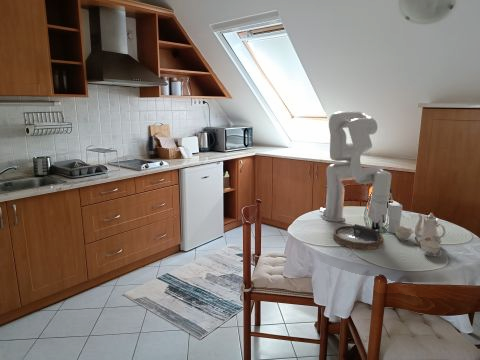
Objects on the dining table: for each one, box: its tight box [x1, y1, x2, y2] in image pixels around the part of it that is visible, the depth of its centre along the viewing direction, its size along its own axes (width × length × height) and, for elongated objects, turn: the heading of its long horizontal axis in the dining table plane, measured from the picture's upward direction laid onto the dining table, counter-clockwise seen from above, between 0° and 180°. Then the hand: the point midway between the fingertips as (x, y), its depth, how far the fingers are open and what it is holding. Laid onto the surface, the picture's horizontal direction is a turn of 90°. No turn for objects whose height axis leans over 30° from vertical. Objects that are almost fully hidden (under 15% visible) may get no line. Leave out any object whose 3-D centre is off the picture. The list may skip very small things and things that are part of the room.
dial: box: [337, 224, 380, 243], centre depth 172 cm, size 20×20×7 cm
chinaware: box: [394, 212, 446, 257], centre depth 165 cm, size 28×17×17 cm, turn 19°
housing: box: [332, 225, 385, 251], centre depth 172 cm, size 23×23×3 cm
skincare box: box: [386, 200, 403, 233], centre depth 185 cm, size 8×6×15 cm
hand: (374, 234), depth 169 cm, fingers closed
